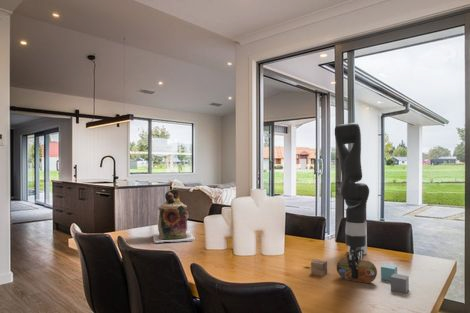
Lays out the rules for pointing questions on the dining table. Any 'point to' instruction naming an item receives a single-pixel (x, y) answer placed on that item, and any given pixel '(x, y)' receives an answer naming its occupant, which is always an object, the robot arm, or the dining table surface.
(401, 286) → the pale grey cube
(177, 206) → the cookie jar
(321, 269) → the brownish grey cube
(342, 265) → the tin
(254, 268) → the dining table surface
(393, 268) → the slate-teal cube
